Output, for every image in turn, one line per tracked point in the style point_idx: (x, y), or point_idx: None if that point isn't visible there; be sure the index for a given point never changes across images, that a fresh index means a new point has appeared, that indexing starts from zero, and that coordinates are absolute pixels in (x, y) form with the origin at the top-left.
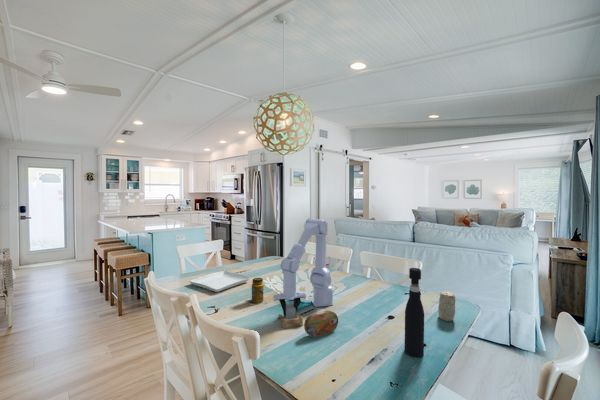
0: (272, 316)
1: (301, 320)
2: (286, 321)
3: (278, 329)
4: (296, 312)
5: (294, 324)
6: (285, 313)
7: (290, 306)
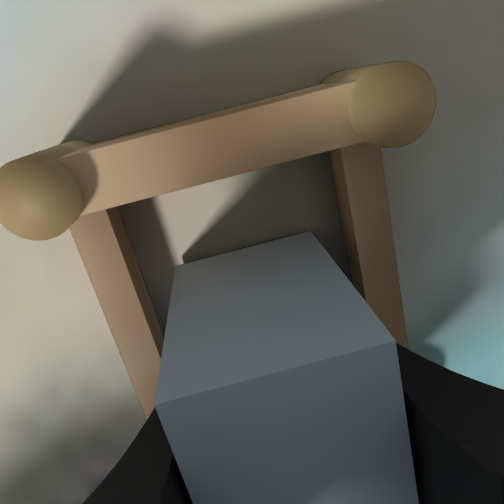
0: None
1: (34, 153)
2: (338, 87)
3: (436, 21)
4: None
5: (180, 121)
6: None
7: (292, 487)
